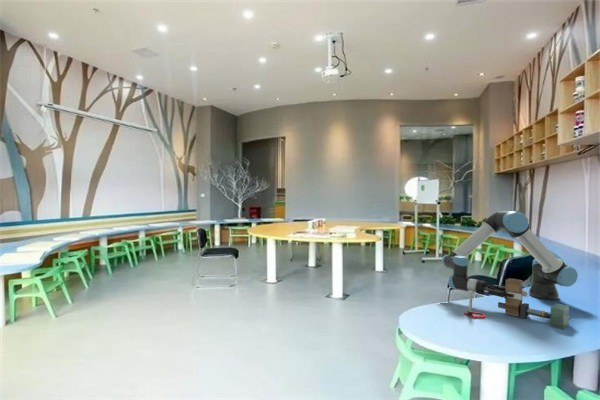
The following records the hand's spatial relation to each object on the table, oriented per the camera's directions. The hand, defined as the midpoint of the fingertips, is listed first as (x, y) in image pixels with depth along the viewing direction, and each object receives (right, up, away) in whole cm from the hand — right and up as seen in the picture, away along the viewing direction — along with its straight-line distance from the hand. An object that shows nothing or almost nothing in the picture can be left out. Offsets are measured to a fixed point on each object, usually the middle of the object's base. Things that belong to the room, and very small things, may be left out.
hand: (524, 295), depth 175 cm
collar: (0, -11, 0) cm, 11 cm away
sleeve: (-3, -11, +4) cm, 12 cm away
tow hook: (-24, -11, +2) cm, 26 cm away
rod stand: (+2, -11, -2) cm, 11 cm away
